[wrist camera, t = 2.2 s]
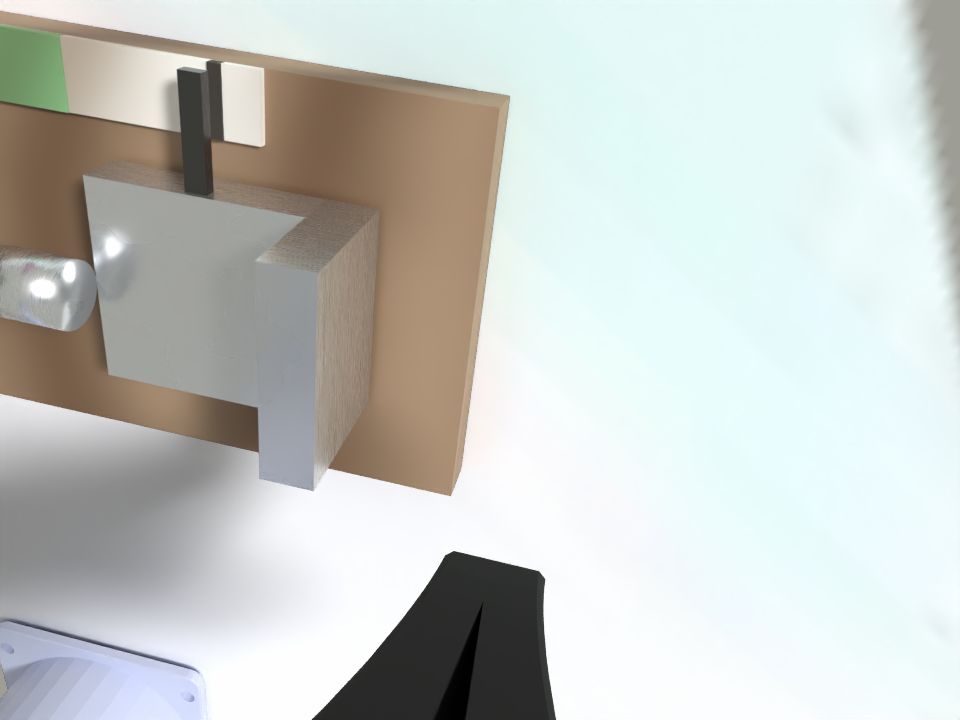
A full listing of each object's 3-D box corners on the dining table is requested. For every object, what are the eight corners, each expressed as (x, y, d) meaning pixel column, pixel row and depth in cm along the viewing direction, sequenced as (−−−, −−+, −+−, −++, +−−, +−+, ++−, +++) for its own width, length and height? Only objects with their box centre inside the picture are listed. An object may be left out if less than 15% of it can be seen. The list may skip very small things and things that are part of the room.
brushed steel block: (386, 91, 17) (320, 134, 14) (368, 401, 20) (314, 491, 17) (16, 28, 18) (-124, 55, 14) (64, 336, 21) (-39, 409, 18)
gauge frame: (510, 95, 18) (441, 175, 12) (461, 469, 23) (397, 636, 17) (-302, -40, 20) (-641, -19, 15) (-182, 325, 25) (-405, 435, 20)
